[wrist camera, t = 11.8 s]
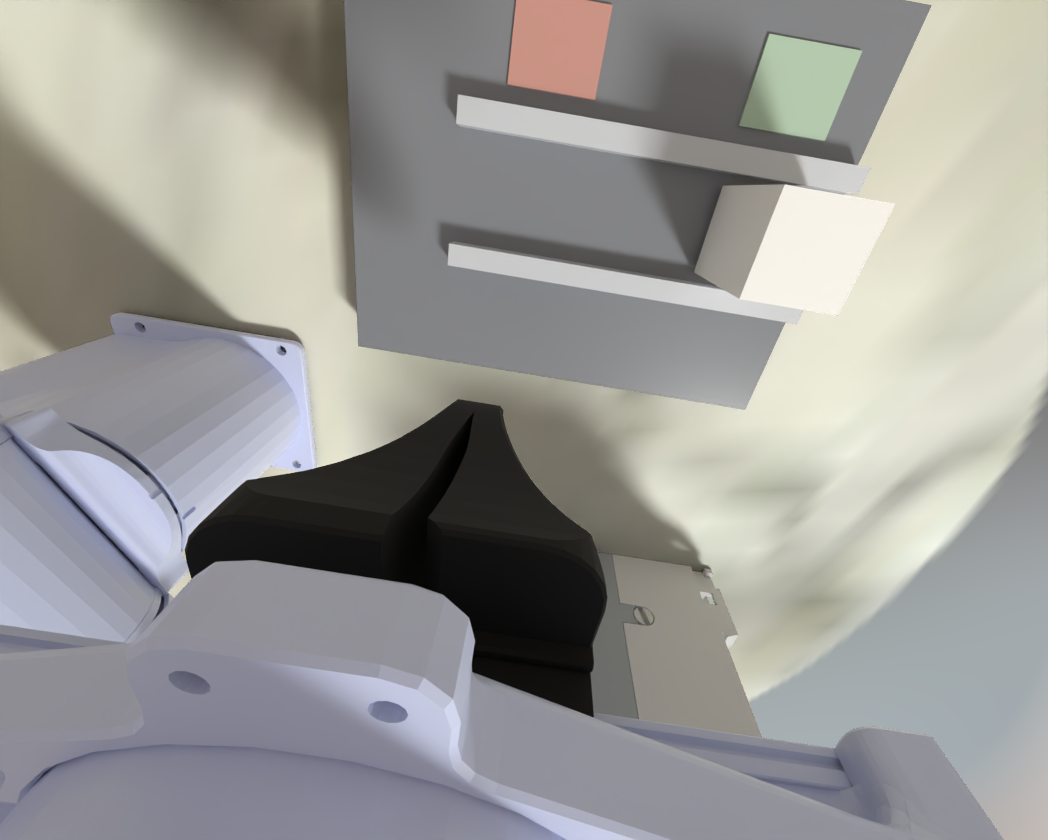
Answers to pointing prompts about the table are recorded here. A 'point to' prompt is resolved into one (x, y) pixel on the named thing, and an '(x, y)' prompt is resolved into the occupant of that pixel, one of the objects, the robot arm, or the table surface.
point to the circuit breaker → (667, 649)
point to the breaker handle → (790, 244)
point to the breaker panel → (595, 173)
